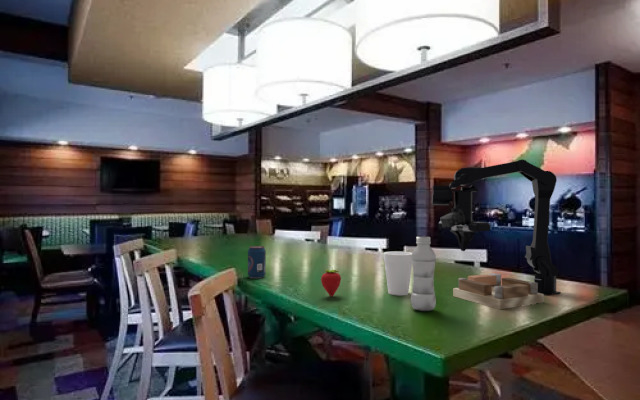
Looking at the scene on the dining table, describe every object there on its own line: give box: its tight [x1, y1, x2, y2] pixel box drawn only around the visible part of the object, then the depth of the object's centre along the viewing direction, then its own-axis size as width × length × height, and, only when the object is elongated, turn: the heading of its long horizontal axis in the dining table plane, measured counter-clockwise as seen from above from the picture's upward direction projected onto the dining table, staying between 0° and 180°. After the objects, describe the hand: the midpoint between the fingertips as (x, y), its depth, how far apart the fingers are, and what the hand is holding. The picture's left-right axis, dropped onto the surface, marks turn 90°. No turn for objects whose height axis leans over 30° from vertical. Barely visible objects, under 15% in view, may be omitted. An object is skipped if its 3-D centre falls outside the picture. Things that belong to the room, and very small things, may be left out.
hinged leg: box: [467, 273, 502, 285], centre depth 136 cm, size 12×4×3 cm, turn 113°
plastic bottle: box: [410, 236, 437, 312], centre depth 115 cm, size 6×7×20 cm
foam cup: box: [383, 251, 413, 296], centre depth 137 cm, size 10×9×13 cm
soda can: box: [247, 245, 267, 279], centre depth 166 cm, size 7×7×12 cm
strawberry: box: [320, 263, 342, 297], centre depth 132 cm, size 6×8×10 cm
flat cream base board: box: [452, 277, 545, 310], centre depth 128 cm, size 18×18×6 cm
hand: (463, 250), depth 144 cm, fingers closed
